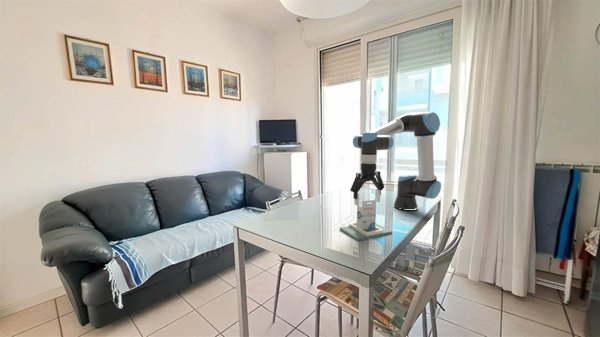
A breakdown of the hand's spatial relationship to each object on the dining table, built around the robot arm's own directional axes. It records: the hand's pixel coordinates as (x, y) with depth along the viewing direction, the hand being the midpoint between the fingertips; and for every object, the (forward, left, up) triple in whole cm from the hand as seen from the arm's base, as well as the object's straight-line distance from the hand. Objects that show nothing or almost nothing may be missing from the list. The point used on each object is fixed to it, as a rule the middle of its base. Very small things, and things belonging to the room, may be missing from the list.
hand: (367, 203), depth 128 cm
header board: (0, 0, -15) cm, 15 cm away
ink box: (0, 0, -13) cm, 13 cm away
